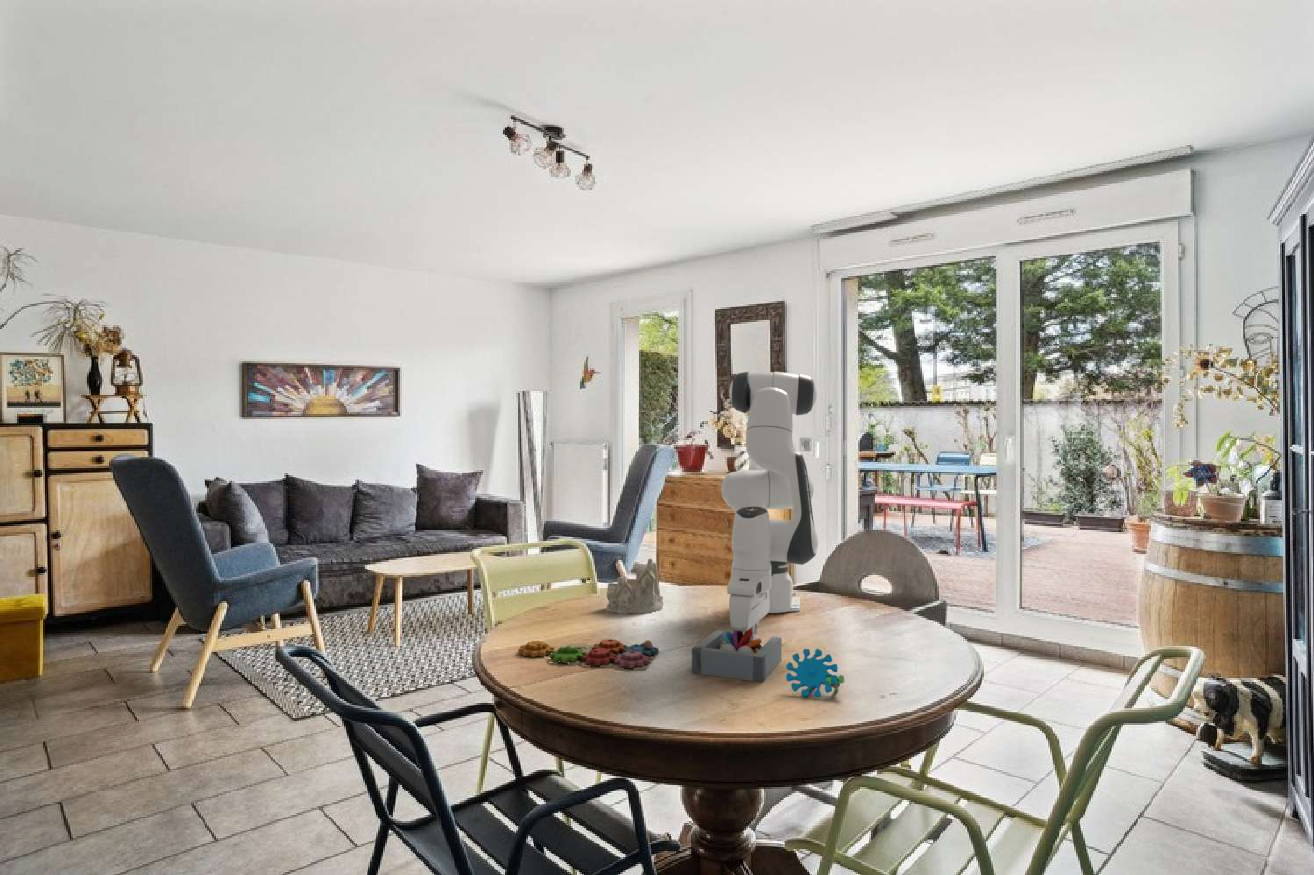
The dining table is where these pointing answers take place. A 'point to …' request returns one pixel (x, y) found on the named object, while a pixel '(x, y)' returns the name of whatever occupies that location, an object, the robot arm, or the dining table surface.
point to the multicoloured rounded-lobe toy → (740, 642)
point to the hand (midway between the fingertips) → (751, 641)
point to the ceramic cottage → (636, 592)
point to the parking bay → (735, 659)
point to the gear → (814, 673)
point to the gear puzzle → (596, 654)
